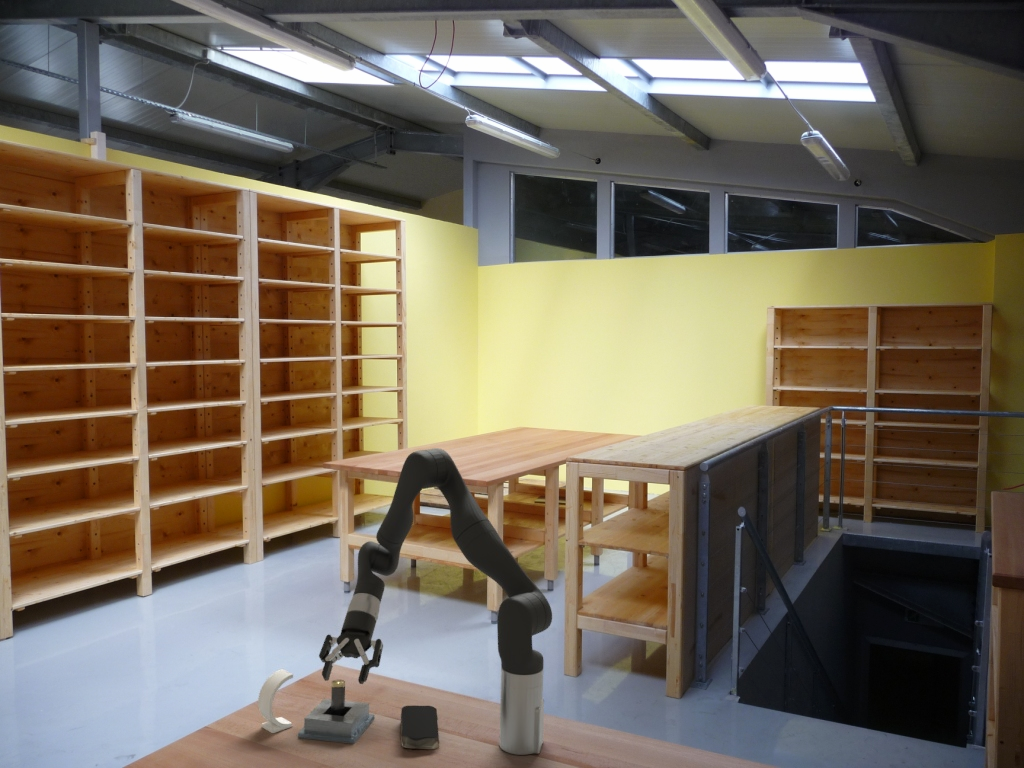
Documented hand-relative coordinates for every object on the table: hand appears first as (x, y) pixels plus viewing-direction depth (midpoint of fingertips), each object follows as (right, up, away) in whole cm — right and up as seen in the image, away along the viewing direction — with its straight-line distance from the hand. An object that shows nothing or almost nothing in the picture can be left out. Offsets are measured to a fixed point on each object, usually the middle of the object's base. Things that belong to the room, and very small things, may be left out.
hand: (343, 680), depth 189 cm
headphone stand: (-15, -10, -3) cm, 18 cm away
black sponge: (+18, -11, -5) cm, 22 cm away
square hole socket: (-1, -10, -3) cm, 10 cm away
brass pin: (-1, -9, -3) cm, 9 cm away
